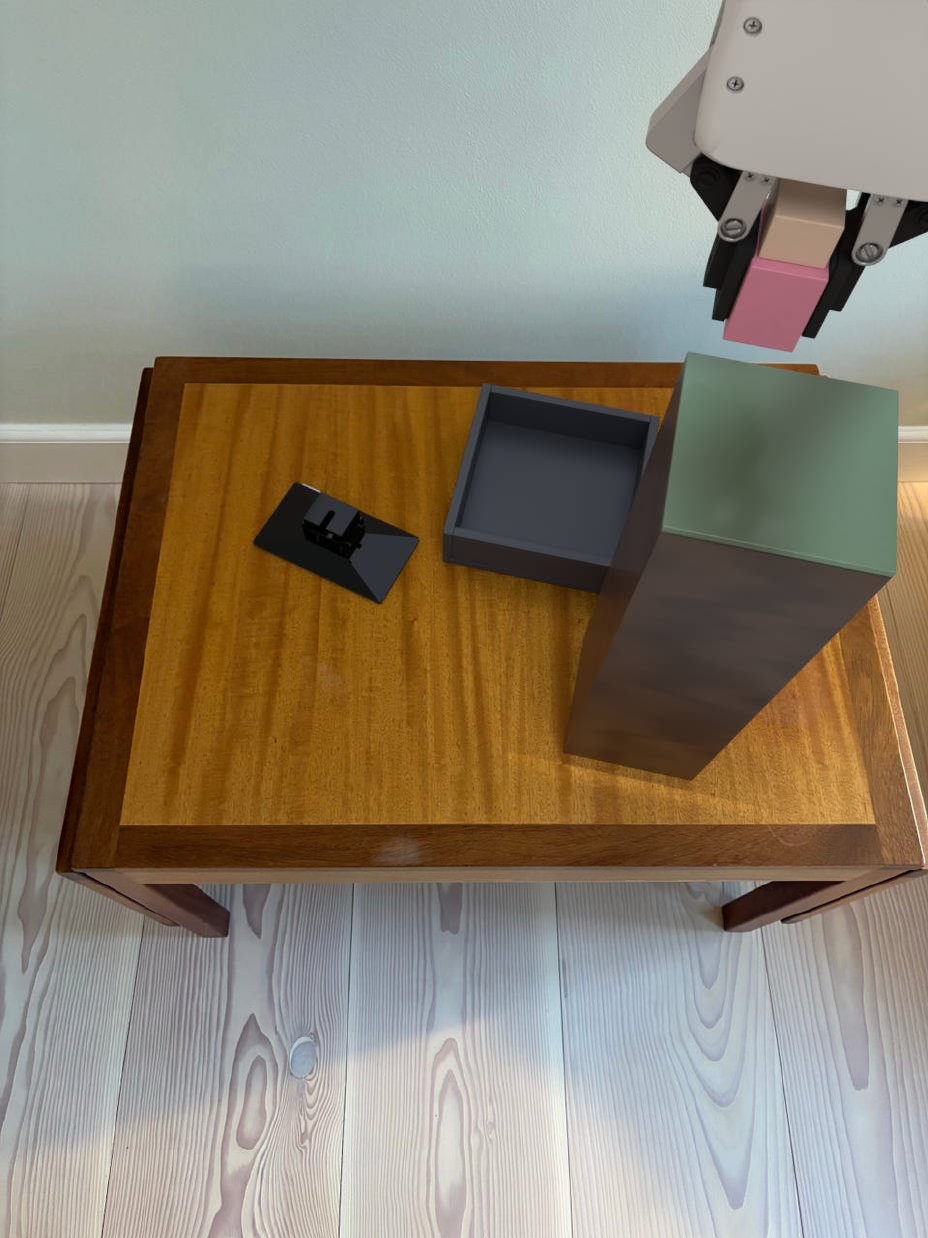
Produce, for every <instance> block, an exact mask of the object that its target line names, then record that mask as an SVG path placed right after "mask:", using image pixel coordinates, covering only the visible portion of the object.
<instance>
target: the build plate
mask: <svg viewBox="0 0 928 1238" xmlns="http://www.w3.org/2000/svg"><path fill="white" fill-rule="evenodd" d="M252 543H253V545H254V547H256V548H259V549H260V550H264V551H265V552H267V553H269V554H272V555H274V556H275V557H278V558H280V559H282V560H284V561H287V563H288V562H289V563H291V564H292V565H295V566H296V567H299V568H301V569H303V570H305V571H308V572H309V573H312V574H314V575H316V576H317V577H321V578H322V579H324V580H327V581H328V582H330V583H332V584H334V585H337V586H339V587H341V588H343V589H345V590H348V591H350V592H352V593H353V594H356V595H359V596H361V597H363V598H365V599H366V600H369V601H371V602H373V603H375V604H378V605H381V604H383V602H384V601H385V599H386V597H387V595H388V594H389V592H390V591H391V589H392V587H393V585H394V584H395V582H396V581H397V579H398V578H399V576H400V574H401V572H402V571H403V569H404V568H405V566H406V565H407V563H408V561H409V559H410V558H411V556H412V555H413V553H414V551H415V550H416V548H417V546H418V544H419V543H420V537H419V536H417V535H414V534H413V533H410V532H409V531H406V530H404V529H401V528H399V527H397V526H394V525H393V524H390V523H388V522H386V521H384V520H381V519H380V518H377V517H375V516H373V515H371V514H368V513H366V512H363V511H361V510H360V509H359V508H357V507H355V506H353V505H350V504H348V503H346V502H343V501H342V500H340V499H338V498H335V497H333V496H330V495H329V494H326V493H324V492H322V491H320V490H319V489H316V488H314V487H312V486H310V485H307V484H306V483H300V482H297V481H296V482H293V484H292V485H291V487H290V488H289V490H288V491H287V492H286V493H285V495H284V496H283V498H282V499H281V501H280V502H279V504H278V505H277V506H276V508H275V509H274V511H273V512H272V513H271V515H270V516H269V517H268V519H267V521H266V522H265V523H264V525H263V526H262V528H261V529H260V530H259V532H258V533H257V534H256V536H255V538H254V539H253V541H252Z"/></svg>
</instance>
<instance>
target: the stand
mask: <svg viewBox="0 0 928 1238" xmlns="http://www.w3.org/2000/svg"><path fill="white" fill-rule="evenodd" d="M899 398H900V390H898V389H891V388H887V387H881V386H876V385H871V384H865V383H860V382H856V381H855V382H854V381H849V380H843V379H839V378H833V377H827V376H822V375H817V374H813V373H811V374H810V373H805V372H801V371H796V370H795V371H794V370H791V369H785V368H780V367H774V366H768V365H762V364H757V363H753V362H747V361H742V360H735V359H731V358H725V357H721V356H715V355H709V354H705V353H698V352H694V351H687V353H686V355H685V357H684V360H683V363H682V365H681V368H680V371H679V374H678V376H677V379H676V382H675V385H674V387H673V390H672V393H671V396H670V398H669V402H668V405H667V407H666V410H665V413H664V415H663V418H662V421H661V424H660V425H659V426H660V427H659V428H658V434H657V437H656V440H655V443H654V445H653V448H652V451H651V454H650V456H649V459H648V462H647V465H646V467H645V470H644V473H643V476H642V478H641V481H640V484H639V487H638V489H637V492H636V495H635V498H634V500H633V503H632V506H631V509H630V511H629V514H628V517H627V520H626V522H625V525H624V528H623V531H622V533H621V536H620V539H619V542H618V544H617V547H616V550H615V553H614V555H613V558H612V561H611V564H610V566H609V569H608V572H607V575H606V577H605V580H604V583H603V586H602V588H601V591H600V594H598V596H597V600H596V603H595V604H594V608H593V610H592V613H591V616H590V618H589V622H588V624H587V627H586V629H585V632H584V636H583V638H582V645H581V649H580V655H579V661H578V665H577V672H576V678H575V684H574V690H573V695H572V699H571V705H570V712H569V718H568V723H567V729H566V734H565V740H564V746H563V751H562V752H563V754H567V755H572V756H576V757H581V758H585V759H591V760H594V761H599V762H603V763H608V764H613V765H617V766H622V767H626V768H630V769H637V770H641V771H645V772H650V773H653V774H659V775H663V776H669V777H672V778H677V779H682V780H686V781H691V782H692V781H694V779H695V778H696V777H697V776H698V775H699V774H700V773H702V771H703V770H704V769H705V768H706V767H707V766H708V765H709V764H710V763H711V762H712V761H713V760H714V759H715V758H716V757H717V756H718V755H719V754H720V753H721V752H722V751H723V750H724V749H725V748H727V746H728V745H729V744H730V743H731V742H732V741H733V740H734V739H736V737H737V736H738V735H739V734H740V733H741V732H742V731H743V730H744V729H745V728H746V726H748V725H749V723H751V722H752V720H754V718H755V717H756V716H757V715H758V714H760V713H761V711H762V710H763V709H764V708H765V707H766V706H768V704H770V702H771V701H772V700H773V699H774V698H775V697H776V696H777V695H778V694H779V693H780V692H781V691H782V690H784V688H785V687H786V686H787V685H788V684H789V683H790V682H791V681H792V680H793V679H794V678H795V677H796V676H797V675H798V674H799V673H800V672H801V671H802V670H803V669H804V668H805V667H806V666H807V665H808V664H809V663H810V662H811V661H812V660H813V658H815V657H816V656H817V655H818V654H819V652H820V651H822V649H824V648H825V646H827V644H829V643H830V641H832V639H834V637H836V635H838V633H839V632H840V631H841V630H842V629H843V628H844V627H846V625H847V624H848V623H850V621H852V619H853V618H854V617H855V616H856V615H857V614H858V613H859V612H860V611H861V610H862V609H863V608H864V607H865V606H866V605H867V604H868V603H869V602H870V601H871V600H872V599H873V598H874V597H875V596H876V595H877V594H878V593H879V592H880V591H881V590H882V589H883V588H884V587H885V586H886V584H888V582H889V581H891V579H892V578H894V576H896V574H897V572H898V570H897V569H898V568H897V566H898V562H897V560H898V493H899V492H898V490H899V489H898V488H899V487H898V483H899V471H898V470H899V469H898V468H899V414H900V413H899V408H900V407H899V404H900V403H899V402H900V401H899V400H900V399H899Z"/></svg>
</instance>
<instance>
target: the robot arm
mask: <svg viewBox="0 0 928 1238" xmlns="http://www.w3.org/2000/svg"><path fill="white" fill-rule="evenodd" d="M644 143H645V146H646V148H647V150H648V151H649V152H650V153H652V154H653V155H655V157H657V158H658V159H660V160H661V161H662V162H664V163H665V164H666V165H668V166H669V167H670V168H672V169H673V170H674V171H675V172H677V173H679V174H684V175H685V176H687V178H689V183H690V185H691V187H692V188H693V190H694V191H695V192H696V194H697V195H698V196H699V198H700V200H701V201H702V202H703V204H704V205H705V207H706V209H708V211H709V212H710V213H711V216H713V218H714V219H715V220H716V222H717V227H716V230H717V232H716V235H715V236H714V237H715V238H714V240H713V243H712V247H711V250H710V253H709V256H708V258H707V262H706V267H705V270H704V276H703V280H702V287H703V288H708V289H714V290H715V294H714V301H713V306H712V314H711V320H713V321H718V322H723V323H725V319H728V318H729V316H730V313H731V311H732V308H733V305H734V303H735V300H736V298H737V295H738V293H739V290H740V287H741V285H742V282H743V280H744V277H745V275H746V272H747V269H748V267H749V264H750V262H751V259H752V258H754V255H755V252H756V248H757V241H758V233H759V225H760V218H761V210H762V206H763V204H764V202H765V200H766V199H767V198H768V195H769V193H770V190H771V188H772V186H773V184H774V182H775V180H776V178H777V177H780V178H785V179H791V180H796V181H802V182H808V183H813V184H819V185H824V186H830V187H836V188H842V189H847V191H848V190H849V191H854V192H858V195H857V198H856V201H855V204H854V207H852V208H851V209H846V214H845V228H844V230H843V232H842V234H841V236H840V239H839V241H838V243H837V245H836V247H835V249H834V251H833V253H832V255H831V257H830V263H829V279H828V283H827V285H826V287H825V289H824V291H823V293H822V295H821V297H820V299H819V301H818V303H817V305H816V307H815V309H814V311H813V313H812V315H811V317H810V319H809V321H808V323H807V325H806V327H805V329H804V331H803V333H802V335H801V337H802V338H808V339H812V340H815V339H816V337H817V336H818V333H819V332H820V330H821V328H822V326H823V324H824V322H825V320H826V318H827V317H828V314H829V313H830V311H833V312H837V313H838V312H840V313H841V312H842V311H843V309H844V307H845V306H846V304H847V302H848V300H849V299H850V297H851V295H852V293H853V291H854V289H855V288H856V286H857V284H858V282H859V280H860V279H861V276H862V274H863V272H864V271H865V269H866V267H871V266H874V265H877V264H879V263H880V262H882V261H883V260H884V259H885V257H886V255H887V253H888V250H889V249H892V248H893V247H896V246H898V245H901V244H903V243H905V242H908V241H910V240H913V239H915V238H917V237H919V236H922V235H924V234H926V233H928V0H721V4H720V7H719V9H718V13H717V17H716V21H715V24H714V27H713V31H712V34H711V38H710V42H709V45H708V49H707V50H706V51H705V53H704V54H703V55H702V56H701V57H700V58H699V59H698V61H697V62H696V63H695V64H694V65H693V66H692V68H691V69H690V70H688V72H687V73H686V74H685V75H684V77H683V78H682V79H681V80H680V81H679V82H678V83H677V84H676V86H675V87H674V88H673V89H672V91H670V93H669V94H668V95H667V96H666V97H665V98H664V100H662V102H661V103H660V104H659V105H658V106H657V107H656V109H655V110H654V111H653V112H652V114H651V115H650V117H649V123H648V127H647V131H646V136H645V142H644Z"/></svg>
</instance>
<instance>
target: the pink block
mask: <svg viewBox="0 0 928 1238" xmlns="http://www.w3.org/2000/svg"><path fill="white" fill-rule="evenodd" d="M847 199H848V189H842V188H836V187H830V186H824V185H819V184H813V183H808V182H802V181H796V180H791V179H785V178H780V177H777V178H776V180H775V182H774V184H773V186H772V188H771V190H770V192H769V194H768V196H767V198H766V200H765V202H764V204H763V206H762V210H761V218H760V225H759V233H758V241H757V248H756V252H755V255H754V258H752V259H751V262H750V264H749V267H748V269H747V272H746V275H745V277H744V280H743V282H742V285H741V287H740V290H739V293H738V295H737V298H736V300H735V303H734V305H733V308H732V311H731V313H730V316H729V318H728V319H725V321H724V325H723V333H722V340H724V341H729V342H734V343H738V344H743V345H744V344H745V345H749V346H755V347H760V348H766V349H771V350H776V351H782V352H788V353H793V352H794V351H795V348H796V346H797V344H798V343H799V340H800V338H801V337H802V336H801V335H802V333H803V331H804V329H805V327H806V325H807V323H808V321H809V319H810V317H811V315H812V313H813V311H814V309H815V307H816V305H817V303H818V301H819V299H820V297H821V295H822V293H823V291H824V289H825V287H826V285H827V283H828V279H829V263H830V257H831V255H832V253H833V251H834V249H835V247H836V245H837V243H838V241H839V239H840V236H841V234H842V232H843V230H844V228H845V214H846V210H847Z"/></svg>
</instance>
